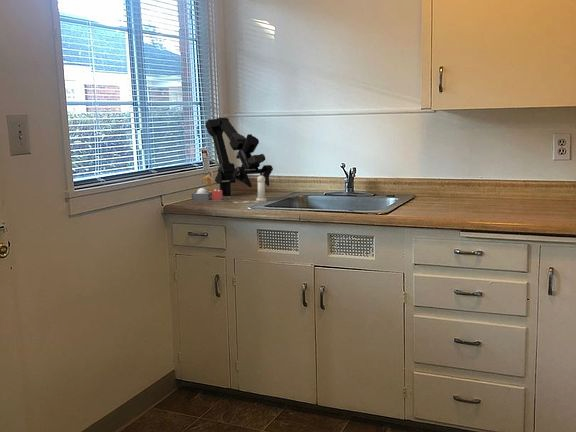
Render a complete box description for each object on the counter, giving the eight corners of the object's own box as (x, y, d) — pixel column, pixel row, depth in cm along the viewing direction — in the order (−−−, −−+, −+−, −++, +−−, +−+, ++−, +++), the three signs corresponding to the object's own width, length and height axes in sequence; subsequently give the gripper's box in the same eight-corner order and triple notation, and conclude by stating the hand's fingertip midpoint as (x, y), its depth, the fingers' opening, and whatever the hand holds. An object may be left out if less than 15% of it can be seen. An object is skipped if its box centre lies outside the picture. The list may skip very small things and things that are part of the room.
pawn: (255, 200, 288) (255, 175, 286) (265, 200, 289) (265, 174, 287) (257, 201, 283) (257, 176, 282) (267, 201, 285) (267, 175, 283)
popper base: (195, 200, 294) (195, 188, 293) (227, 201, 293) (227, 188, 292) (191, 203, 286) (190, 190, 285) (224, 204, 284) (224, 191, 284)
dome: (197, 197, 293) (196, 187, 292) (209, 197, 292) (209, 187, 291) (194, 199, 287) (193, 188, 286) (207, 199, 286) (207, 188, 285)
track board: (235, 206, 278) (235, 203, 278) (230, 204, 284) (230, 201, 283) (270, 204, 285) (270, 201, 285) (264, 202, 291) (264, 199, 290)
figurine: (221, 199, 301) (220, 173, 299) (214, 200, 296) (213, 174, 294) (206, 197, 305) (206, 172, 303) (199, 199, 300) (198, 173, 298)
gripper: (235, 148, 282) (248, 176, 275) (271, 147, 293) (284, 173, 286) (227, 165, 290) (239, 192, 283) (261, 163, 300) (274, 189, 293)
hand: (259, 186), depth 286 cm, fingers open, 9 cm apart
